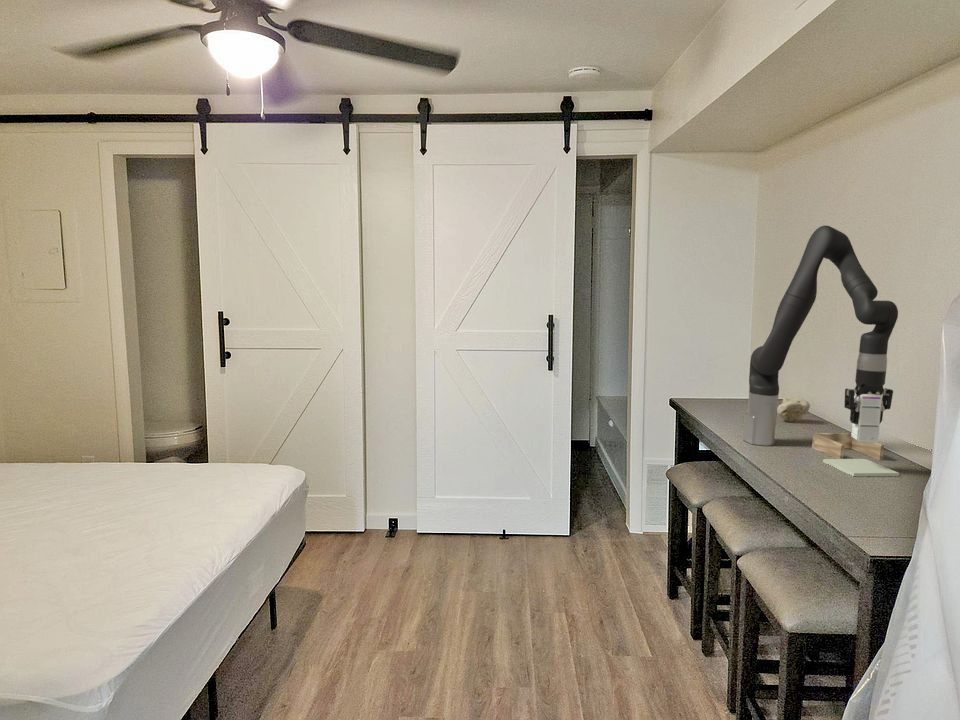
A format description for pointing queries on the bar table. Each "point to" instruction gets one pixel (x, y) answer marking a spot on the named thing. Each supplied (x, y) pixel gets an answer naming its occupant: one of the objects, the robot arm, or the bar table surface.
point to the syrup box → (867, 419)
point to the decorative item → (793, 409)
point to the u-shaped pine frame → (844, 445)
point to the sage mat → (860, 467)
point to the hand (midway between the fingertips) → (865, 423)
